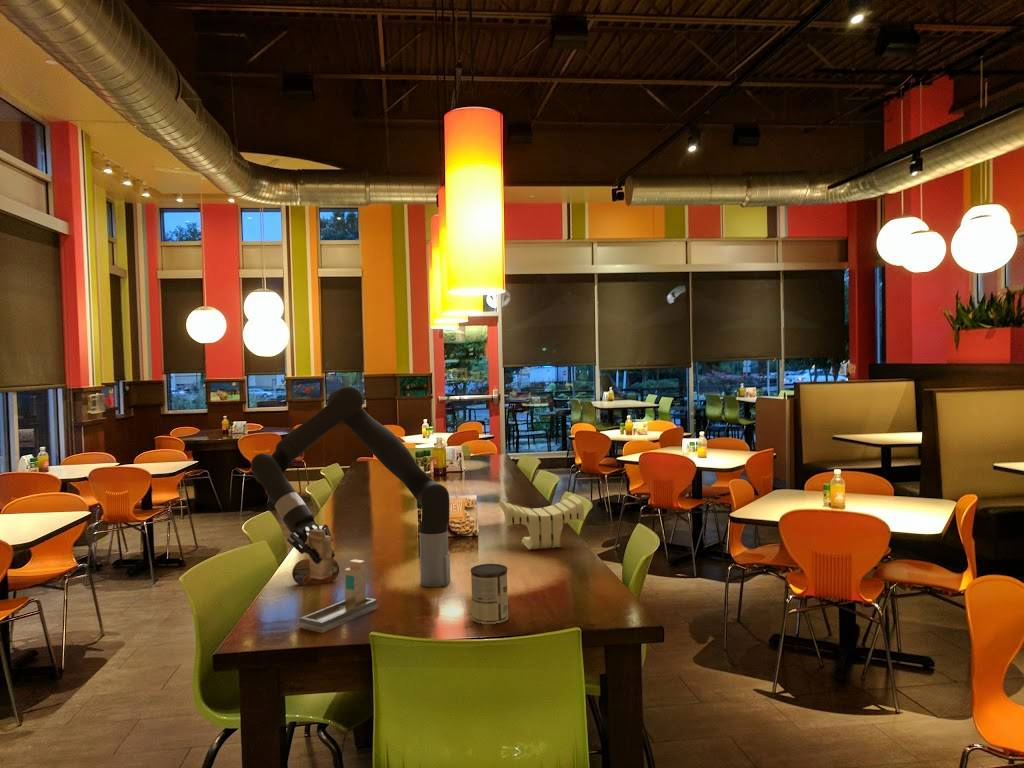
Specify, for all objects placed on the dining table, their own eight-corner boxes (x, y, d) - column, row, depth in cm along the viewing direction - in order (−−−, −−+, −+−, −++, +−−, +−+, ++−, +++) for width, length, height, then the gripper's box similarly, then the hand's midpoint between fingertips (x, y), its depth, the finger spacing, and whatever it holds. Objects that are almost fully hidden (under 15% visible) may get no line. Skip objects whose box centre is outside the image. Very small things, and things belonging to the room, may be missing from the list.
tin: (292, 586, 239) (291, 561, 239) (292, 584, 242) (292, 558, 242) (339, 582, 243) (339, 557, 243) (339, 579, 246) (338, 554, 246)
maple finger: (321, 573, 205) (320, 527, 205) (332, 575, 203) (331, 528, 203) (310, 577, 202) (308, 530, 201) (320, 579, 199) (319, 532, 199)
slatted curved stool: (508, 553, 276) (507, 506, 275) (500, 543, 291) (499, 498, 291) (584, 547, 281) (583, 501, 281) (572, 538, 297) (572, 494, 297)
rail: (355, 604, 220) (354, 556, 219) (377, 608, 215) (375, 559, 215) (300, 627, 201) (298, 575, 201) (322, 633, 197) (320, 579, 196)
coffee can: (472, 612, 210) (471, 564, 210) (507, 611, 211) (506, 562, 210) (471, 625, 200) (470, 574, 200) (509, 624, 200) (507, 573, 200)
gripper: (280, 508, 200) (313, 557, 194) (319, 499, 212) (351, 545, 206) (267, 525, 202) (299, 574, 197) (306, 516, 215) (337, 562, 209)
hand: (325, 559), depth 201 cm, fingers closed on maple finger, 4 cm apart
